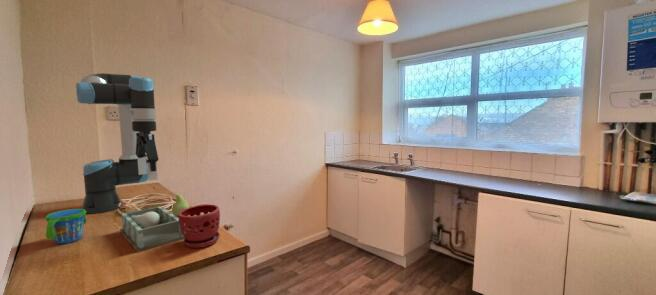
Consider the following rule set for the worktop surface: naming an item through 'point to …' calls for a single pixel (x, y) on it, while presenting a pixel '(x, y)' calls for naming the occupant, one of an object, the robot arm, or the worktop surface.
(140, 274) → the worktop surface
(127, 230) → the grey plastic crate
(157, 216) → the light bulb
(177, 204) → the fruit
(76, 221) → the blue plastic tub
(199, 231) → the plant pot
